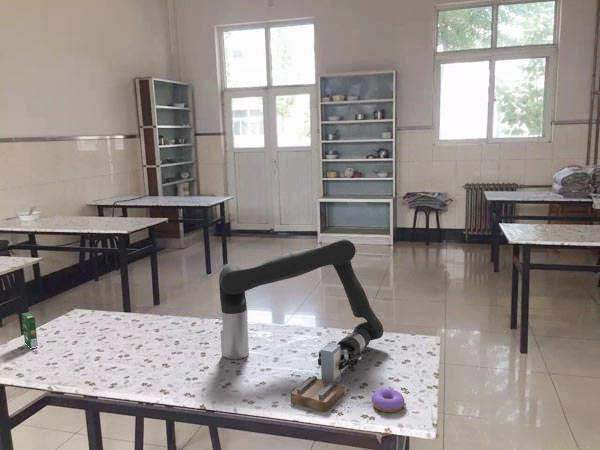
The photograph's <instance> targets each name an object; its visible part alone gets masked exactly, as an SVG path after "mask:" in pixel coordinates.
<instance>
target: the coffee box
mask: <svg viewBox="0 0 600 450" xmlns="http://www.w3.org/2000/svg"><path fill="white" fill-rule="evenodd" d="M21 319H22V329H23V340H24V344H25V343H26V344H27V345H28V346H29V347H30V348H32V347H36V346H38V345H39V344H38V337H37V336H38V335H37V328H36V327H37V324H36V317H35V315H33V314H32V313H30V312H23V313H21ZM28 346H27V347H28ZM29 347H28V348H29ZM30 348H29V349H30Z"/></svg>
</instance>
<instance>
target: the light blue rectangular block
mask: <svg viewBox="0 0 600 450" xmlns="http://www.w3.org/2000/svg"><path fill="white" fill-rule="evenodd" d="M337 344H338V343H331V342H329V343H327V344H326V345H325V346H324V347H322V348H321V349H320V350H321V366H320V369H321V373H320V374H321V376H320V377H321V378H320V379H322V380H326V381H330V382H333V381H337V383H339V382H340V381H342V370H339V369H338V364H339V363H340V362H341V350H340V345H337Z"/></svg>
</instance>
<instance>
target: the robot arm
mask: <svg viewBox="0 0 600 450" xmlns="http://www.w3.org/2000/svg"><path fill="white" fill-rule="evenodd" d="M356 252H357V249H356V246H355V244H354V243H353V242H352V241H351V240H349V239H346V238H340V239H337V240H335V241H333V242H330V243H328V244H325V245H324V244H323V245H322V246H318V247H315V248H307V249H301V250H295V251H292V252H291V251H290V252H288V253H283V254H280V255H276V256H274V257H272V258H269V259H268V260H266V261H265V262H263V263H261V264H259V265H256V266H252V267H248V268H242V269H241V268H240V267H239V266H236V265H233V264H232V265H228V266H225V267H223V269H222V270H221V271H220V273H219V276H218V284H219V287H218V288H219V299H220V306H221V307H220V310H221V322H222V327H221V328H222V330H221V331H220V333H219V334H220V348H221V349H220V350H221V356H222V357H224V358H226V359H228V360H241V359H243V358H246V357H248V356H249V354H250V352H249V351H250V350H249V349H250V348H249V347H250V346H249V344H250V343H249V325H248V320H247V304H248V303H247V299H246V291H250V290H252V289H254V288H255V289H256V288H257V287H260V286H264V285H268V284H273V283H277V282H280V281H285V280H288V279H292V278H296V277H300V276H302V275H305V274H308V273H310V272H313V271H314V270H317V269H320V268H323V267H326V266H331V265H332V266H333V268H334V269H335V272H336V273H337V276H338V278H339V280H340V283H341V285H342V286H343V290H344V291H345V295H346V297H347V300H348V303H349V306H350V310H351V311H352V315H353V316H354V317H355V318H357V319H358V318H363V319H364V320H365V321H364V322H362V323H361V322H360V323H358V324H357V325H355V327H354V329H353V330H352V332H351V333H349V334H347V335H346V336H344V337H343V338H342V339H341V340H340V341H338V342H337V343H336V344H337V345H340V350H341V362H340V363H339V364H338V369H339V370H341V371H342V370H344V369H345V368H346V367H349V366H350V367H352V368H354V367H356V366H357V365H358V364H359V363H360V362H362V352H363V351H364V349H366V348H367V346H369V344H370V342H371V341H375V340H378V339H381V338H382V337H383V336H384V327H383V324H382V323H381V320H380V319H379V318H378V317H377V315H376V314H375V312H374V311H373V309H372V307H371V305H370V303H369V299H368V296H367V294H366V292H365V290H364V287H363V286H362V283H360V281H359V279H358V278H357V276H356V273H355V271H354V268H353V264H352V260H353V259H354V257H355V255H356ZM317 364H318V366H319V367H321V349H320V351H319V352H318V358H317Z"/></svg>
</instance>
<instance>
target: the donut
mask: <svg viewBox="0 0 600 450" xmlns="http://www.w3.org/2000/svg"><path fill="white" fill-rule="evenodd" d="M371 402H372V403H371V404H372V405H373V407H374V408H375V409H377V410H379V411H380V412H384V413H396V412H399V411H400V410H402V409H403V407H404V406H405V398H404V396H403V395H402V393H401V392H399V391H397V390H396V389H392V388H382V389H378V390H376V391H375V392H374V393H373V394H372V397H371Z"/></svg>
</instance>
